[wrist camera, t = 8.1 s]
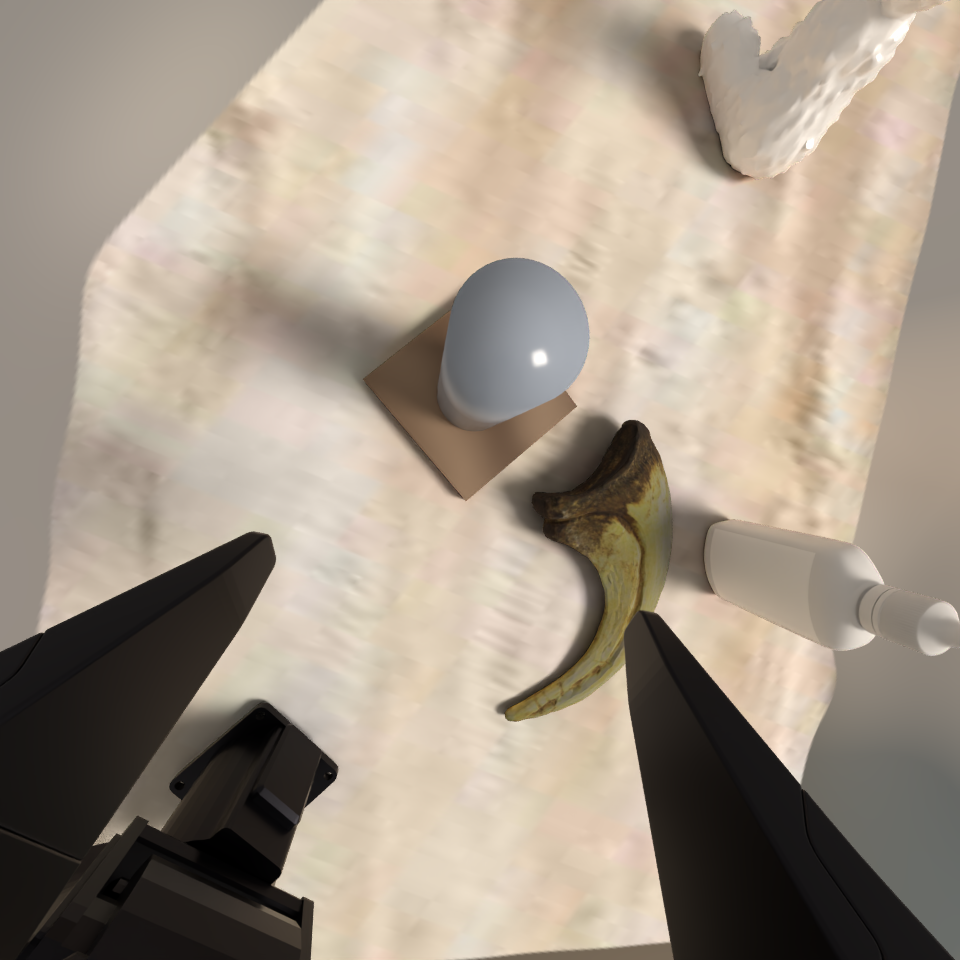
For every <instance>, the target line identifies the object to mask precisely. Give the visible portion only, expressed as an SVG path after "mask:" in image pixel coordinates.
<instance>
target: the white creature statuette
mask: <svg viewBox="0 0 960 960" xmlns="http://www.w3.org/2000/svg"><path fill="white" fill-rule="evenodd" d="M948 1H949V0H822V1H820V2H817V3H816V4H815V5H814V7H813V8H812V9H811V10H810V12H809V13H808V15H807V16H806V17H805V19H804V21H800V22H798V23H797V24H796V25H795V26H794V27H793V29H792V31H791V33H790V35H789V36H788V37H782V38H780V39H779V40H778V41H777V42H776V43H775V44H774V45H773V47H772V48H771V50H767V51H766V52H765V53H764V54H761V55H760V56H759V52H760V44H761V43H760V36H759V35H758V31H757V30H756V29H754V28H753V24H752V21H751V18H750V17H745V18H744V17H743V15H741V14H740V13H739V12H738V11H737V10H733V11H732V12H731V13H728V12H725V13H724V14H722V15H721V16H720V17H719V18H718V19H717V20H716V21H715V22H714V23H713V24H712V25H711V27H710V28H709V30H708V31H707V33H706V34H705V36H704V39H703V43H702V49H701V55H700V65H701V69H700V72H699V74H698V76H702V77H703V81H704V85H705V91H706V94H707V98H708V102H709V105H710V112H711V113H712V116H713V119H714V123H715V127H716V131H717V132H718V133H719V136H720V141H721V146H722V151H723V156H724V158H725V159H726V162H727V163H729V164H730V165H731V167H732V168H733V169H735V170H736V171H738V172H741V173H742V174H743V175H748V176H751V177H753V178H754V179H755V180H759V179H761V178H767V177H768V178H773V177H775V176H776V175H778V174H779V173H785V172H786V171H787V170H788V168H789V167H791V166H793V165H795V164H796V163H798V162H800V161H802V159H803V158H804V157H806V156H808V155H809V154H810V153H812V152H813V151H814V150H815V149H816V147H817V146H818V144H819V142H820V140H821V138H822V136H824V135H825V133H826V131H827V129H828V128H829V127H830V126H831V125H832V124H833V123H835V122H836V121H837V120H838V119H839V116H840V113H841V112H842V110H843V109H844V108H845V107H846V106H847V105H849V104H850V101H851V99H852V97H853V96H854V94H855V93H856V92H857V91H858V90H860V89H862V88H863V87H864V86H866V85H867V84H868V83H870V82H872V81H873V80H874V79H875V78H876V76H877V74H878V72H879V71H880V70H881V68H882V67H883V66H884V65H885V64H887V63H888V62H889V61H890V60H891V59H892V57H893V56H894V54H895V50H896V47H897V46H898V45H899V44H900V43H901V42H902V41H903V40H904V38H905V35H906V33H907V31H908V29H909V26H910V23H911V22H912V21H913V20H914V19H915V15H916V12H919V11H924V10H925V11H926V10H929V9H931V8H933V7H935V6H936V5H940V4H943V3H946V2H948Z"/></svg>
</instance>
